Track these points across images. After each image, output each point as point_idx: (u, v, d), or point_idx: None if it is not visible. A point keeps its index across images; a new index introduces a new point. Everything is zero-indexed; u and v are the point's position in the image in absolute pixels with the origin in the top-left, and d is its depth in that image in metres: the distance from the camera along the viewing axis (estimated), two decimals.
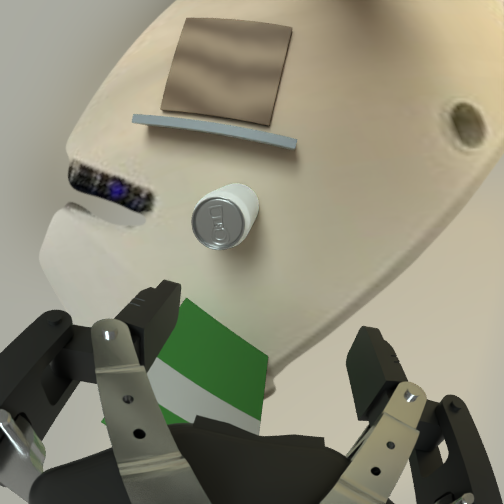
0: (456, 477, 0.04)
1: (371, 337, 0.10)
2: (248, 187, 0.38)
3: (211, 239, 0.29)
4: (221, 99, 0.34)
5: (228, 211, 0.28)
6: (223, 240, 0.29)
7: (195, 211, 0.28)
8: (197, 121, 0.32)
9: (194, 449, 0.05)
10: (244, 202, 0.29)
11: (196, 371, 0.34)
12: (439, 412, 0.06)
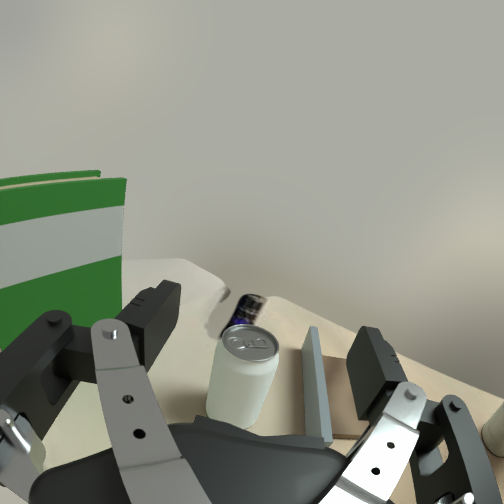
0: (456, 477, 0.04)
1: (371, 337, 0.10)
2: (256, 419, 0.29)
3: (232, 337, 0.27)
4: (339, 395, 0.34)
5: (264, 351, 0.26)
6: (231, 345, 0.26)
7: (259, 329, 0.29)
8: (322, 366, 0.34)
9: (194, 449, 0.05)
10: (270, 373, 0.25)
11: (75, 283, 0.26)
12: (439, 412, 0.06)
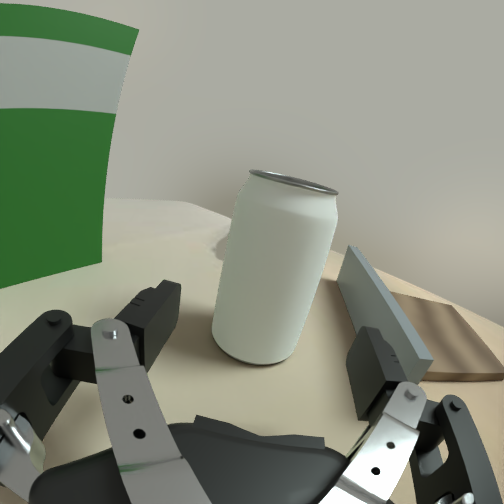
0: (456, 477, 0.04)
1: (371, 337, 0.10)
2: (295, 346, 0.19)
3: None
4: None
5: None
6: None
7: (302, 182, 0.19)
8: (378, 277, 0.25)
9: (194, 449, 0.05)
10: (330, 224, 0.15)
11: (50, 131, 0.17)
12: (439, 412, 0.06)
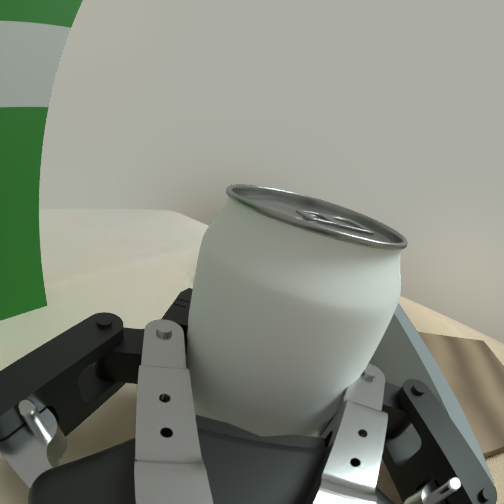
0: (435, 463, 0.05)
1: None
2: None
3: (258, 200, 0.09)
4: None
5: (367, 238, 0.07)
6: None
7: (328, 206, 0.11)
8: (417, 333, 0.16)
9: None
10: (392, 312, 0.07)
11: None
12: (402, 399, 0.07)
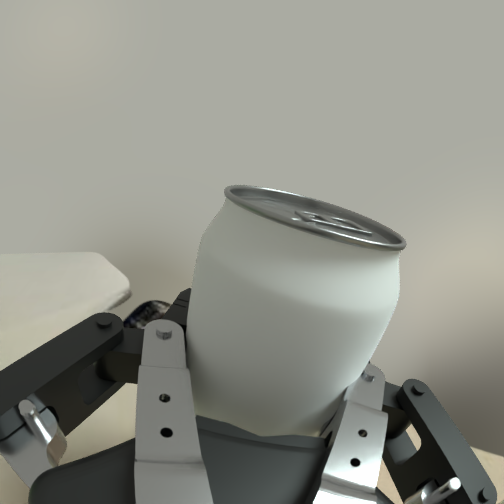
0: (435, 463, 0.05)
1: None
2: None
3: (257, 201, 0.09)
4: None
5: (366, 239, 0.07)
6: None
7: (327, 207, 0.11)
8: None
9: None
10: (390, 313, 0.07)
11: None
12: (402, 399, 0.07)
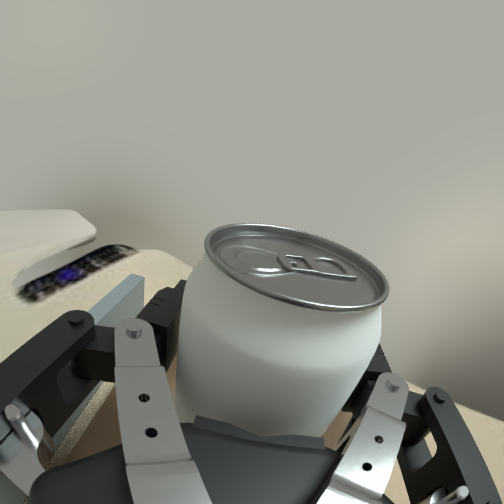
0: (447, 470, 0.04)
1: None
2: None
3: (240, 245, 0.09)
4: None
5: (347, 288, 0.07)
6: (237, 261, 0.08)
7: (317, 240, 0.11)
8: None
9: (194, 449, 0.05)
10: (366, 362, 0.07)
11: None
12: (423, 406, 0.07)
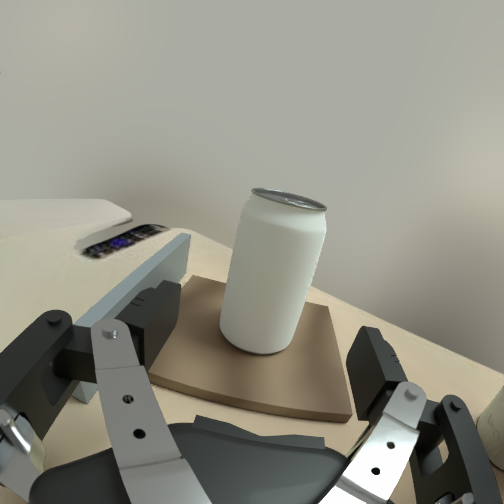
0: (456, 477, 0.04)
1: (371, 337, 0.10)
2: (290, 339, 0.22)
3: (264, 194, 0.21)
4: (189, 322, 0.23)
5: None
6: None
7: (298, 197, 0.22)
8: (156, 263, 0.24)
9: (194, 449, 0.05)
10: (317, 236, 0.19)
11: None
12: (439, 412, 0.06)
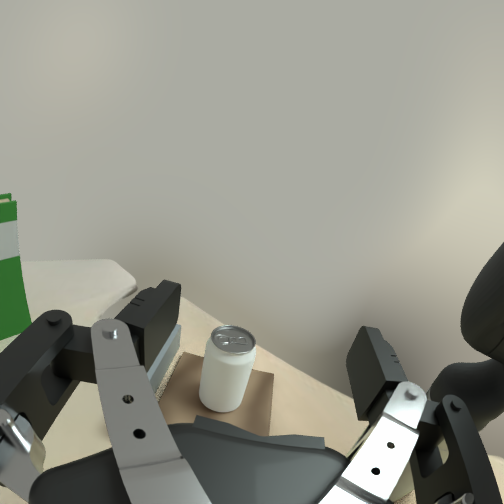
0: (456, 477, 0.04)
1: (371, 337, 0.10)
2: (239, 404, 0.36)
3: (219, 334, 0.34)
4: (181, 391, 0.37)
5: (243, 347, 0.33)
6: (218, 340, 0.33)
7: (242, 329, 0.36)
8: (160, 359, 0.37)
9: (194, 449, 0.05)
10: (246, 364, 0.32)
11: None
12: (439, 412, 0.06)
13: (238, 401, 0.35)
